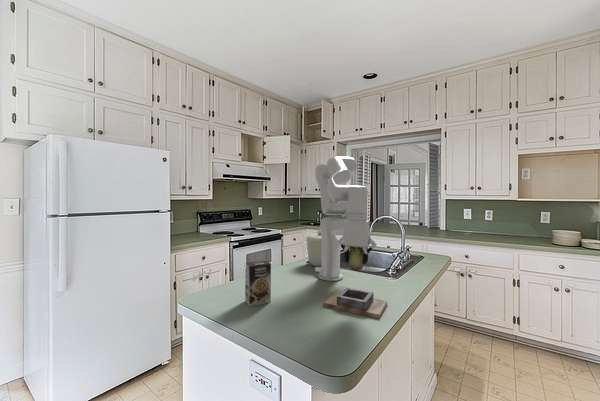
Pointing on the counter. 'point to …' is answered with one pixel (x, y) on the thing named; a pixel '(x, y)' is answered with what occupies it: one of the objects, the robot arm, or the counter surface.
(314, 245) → the canister
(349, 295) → the collar stand
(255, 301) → the coffee box
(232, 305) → the counter surface
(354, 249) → the fennel bulb
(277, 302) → the counter surface
